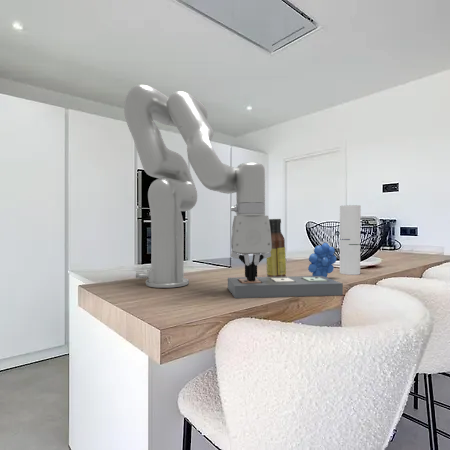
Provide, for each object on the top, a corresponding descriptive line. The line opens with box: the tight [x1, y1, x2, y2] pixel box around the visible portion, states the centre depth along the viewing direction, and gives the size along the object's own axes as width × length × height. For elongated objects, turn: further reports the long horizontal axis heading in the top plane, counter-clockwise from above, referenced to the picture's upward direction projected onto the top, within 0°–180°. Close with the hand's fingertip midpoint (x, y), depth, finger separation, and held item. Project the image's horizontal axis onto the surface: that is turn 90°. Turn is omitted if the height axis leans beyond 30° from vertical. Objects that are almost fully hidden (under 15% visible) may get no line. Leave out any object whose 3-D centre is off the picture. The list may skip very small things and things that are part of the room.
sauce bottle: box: [266, 218, 287, 277], centre depth 105 cm, size 6×6×20 cm
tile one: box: [271, 278, 295, 283], centre depth 86 cm, size 5×5×3 cm
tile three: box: [239, 278, 261, 283], centre depth 84 cm, size 5×5×3 cm
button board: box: [227, 275, 344, 299], centre depth 86 cm, size 28×12×3 cm, turn 98°
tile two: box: [302, 277, 327, 282], centre depth 87 cm, size 5×5×3 cm
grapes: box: [307, 242, 337, 278], centre depth 106 cm, size 12×7×12 cm, turn 117°
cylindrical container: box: [339, 204, 362, 276], centre depth 118 cm, size 7×7×25 cm
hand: (251, 279), depth 84 cm, fingers closed
